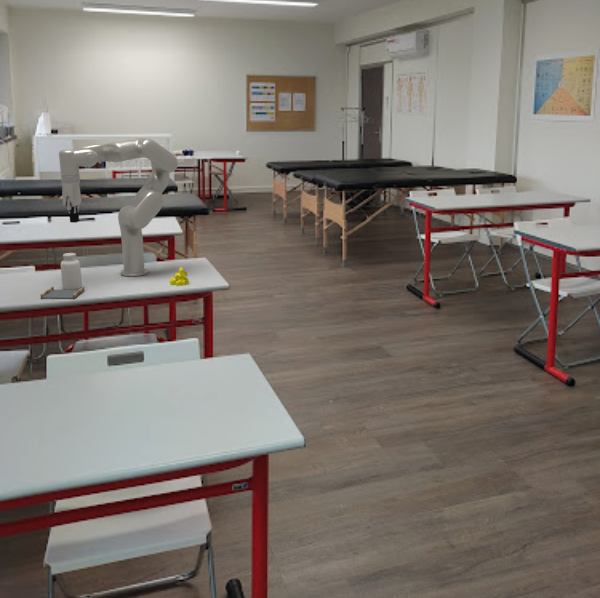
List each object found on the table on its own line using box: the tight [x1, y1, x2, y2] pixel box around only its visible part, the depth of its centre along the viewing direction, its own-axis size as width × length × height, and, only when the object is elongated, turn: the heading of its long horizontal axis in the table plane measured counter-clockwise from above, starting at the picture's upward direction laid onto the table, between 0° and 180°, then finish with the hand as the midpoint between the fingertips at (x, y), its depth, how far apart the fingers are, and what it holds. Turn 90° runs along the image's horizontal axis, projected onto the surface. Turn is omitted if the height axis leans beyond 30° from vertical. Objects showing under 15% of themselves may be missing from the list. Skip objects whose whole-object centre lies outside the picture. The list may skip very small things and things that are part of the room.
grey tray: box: [42, 289, 86, 300], centre depth 284 cm, size 12×14×1 cm
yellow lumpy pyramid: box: [169, 266, 190, 287], centre depth 300 cm, size 6×8×8 cm
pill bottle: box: [60, 252, 83, 290], centre depth 293 cm, size 8×8×15 cm
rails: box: [40, 286, 86, 300], centre depth 284 cm, size 12×14×2 cm
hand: (74, 221), depth 297 cm, fingers closed
